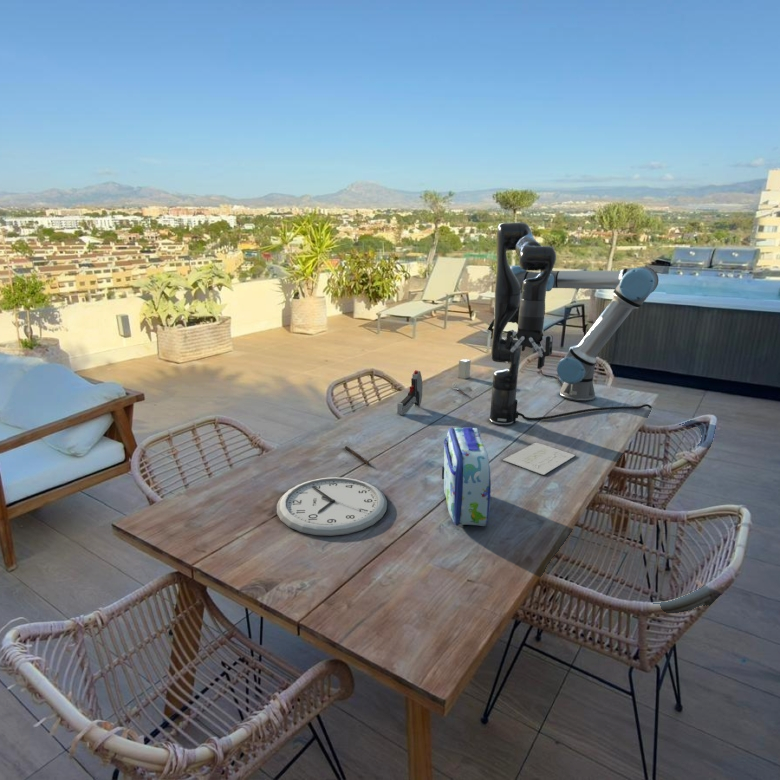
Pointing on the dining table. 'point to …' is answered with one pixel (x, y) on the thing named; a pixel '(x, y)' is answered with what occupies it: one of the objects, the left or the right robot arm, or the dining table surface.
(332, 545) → the dining table surface
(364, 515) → the wall clock
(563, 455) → the invitation card
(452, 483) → the lunch box
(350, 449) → the brown stick
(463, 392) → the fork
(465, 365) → the brick
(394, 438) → the dining table surface
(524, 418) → the left robot arm
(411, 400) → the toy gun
